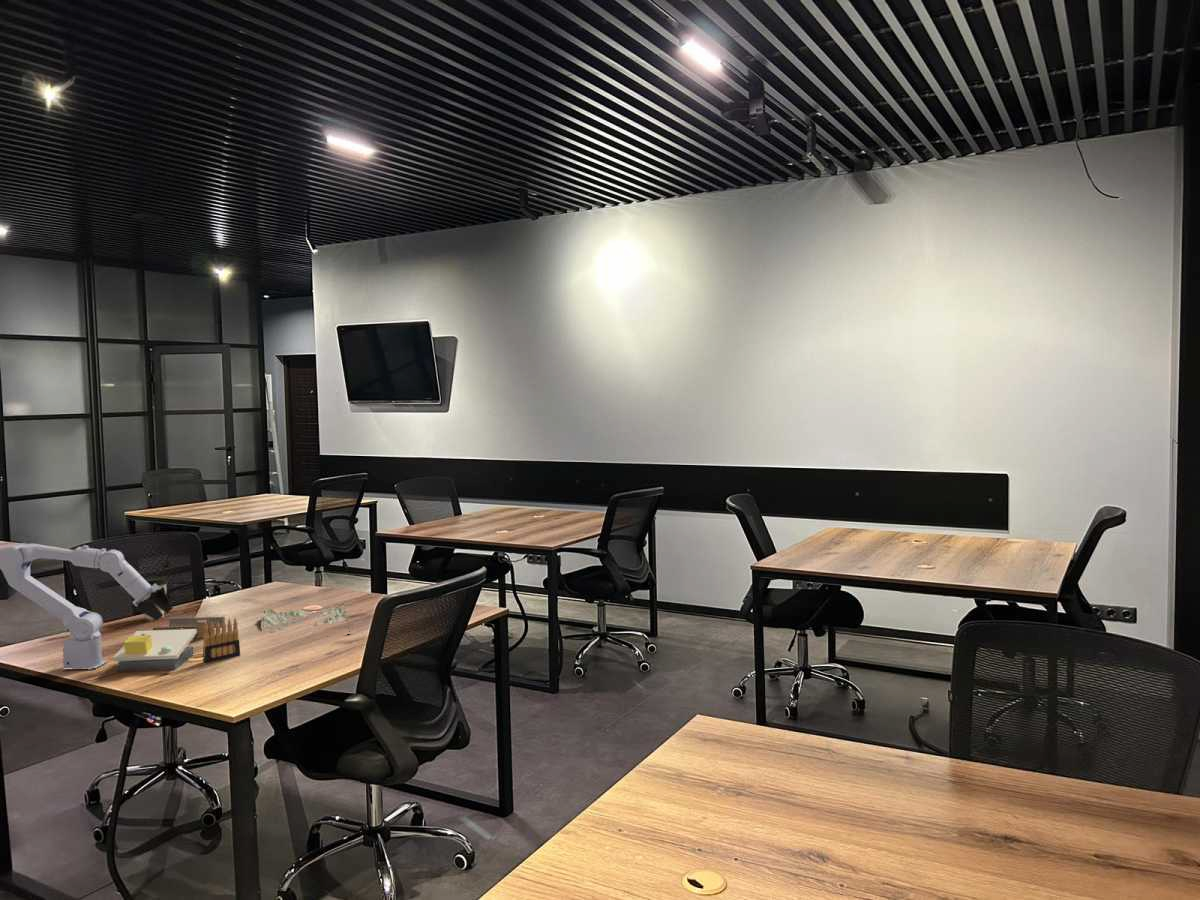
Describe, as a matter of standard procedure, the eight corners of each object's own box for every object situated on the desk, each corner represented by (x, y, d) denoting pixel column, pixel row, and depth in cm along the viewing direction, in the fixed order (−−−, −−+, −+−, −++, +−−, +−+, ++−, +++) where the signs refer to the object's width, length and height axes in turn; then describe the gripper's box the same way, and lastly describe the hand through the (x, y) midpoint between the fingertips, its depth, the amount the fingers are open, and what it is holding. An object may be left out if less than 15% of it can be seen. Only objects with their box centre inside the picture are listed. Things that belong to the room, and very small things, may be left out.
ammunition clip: (205, 663, 252) (204, 624, 252) (202, 662, 254) (201, 623, 253) (240, 655, 260) (239, 618, 260) (238, 654, 261) (237, 617, 261)
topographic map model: (351, 636, 284) (350, 622, 284) (258, 645, 274) (258, 630, 273) (344, 613, 317) (344, 601, 317) (262, 621, 307) (261, 608, 307)
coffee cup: (174, 615, 314) (173, 576, 314) (158, 621, 304) (156, 581, 304) (150, 615, 315) (149, 576, 315) (133, 621, 306) (131, 581, 305)
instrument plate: (113, 661, 243) (110, 645, 242) (137, 634, 259) (134, 619, 257) (177, 658, 245) (175, 643, 244) (196, 632, 260) (194, 617, 259)
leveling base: (118, 671, 244) (118, 655, 244) (140, 658, 258) (139, 642, 258) (175, 669, 246) (174, 653, 246) (193, 656, 260) (192, 640, 260)
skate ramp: (244, 624, 302) (243, 603, 302) (205, 651, 267) (204, 628, 267) (161, 626, 300) (161, 605, 300) (111, 654, 265) (110, 630, 265)
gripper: (152, 566, 252) (184, 598, 254) (134, 582, 260) (165, 613, 262) (134, 580, 246) (166, 613, 249) (116, 596, 254) (148, 628, 257)
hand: (165, 614), depth 255 cm, fingers open, 7 cm apart
